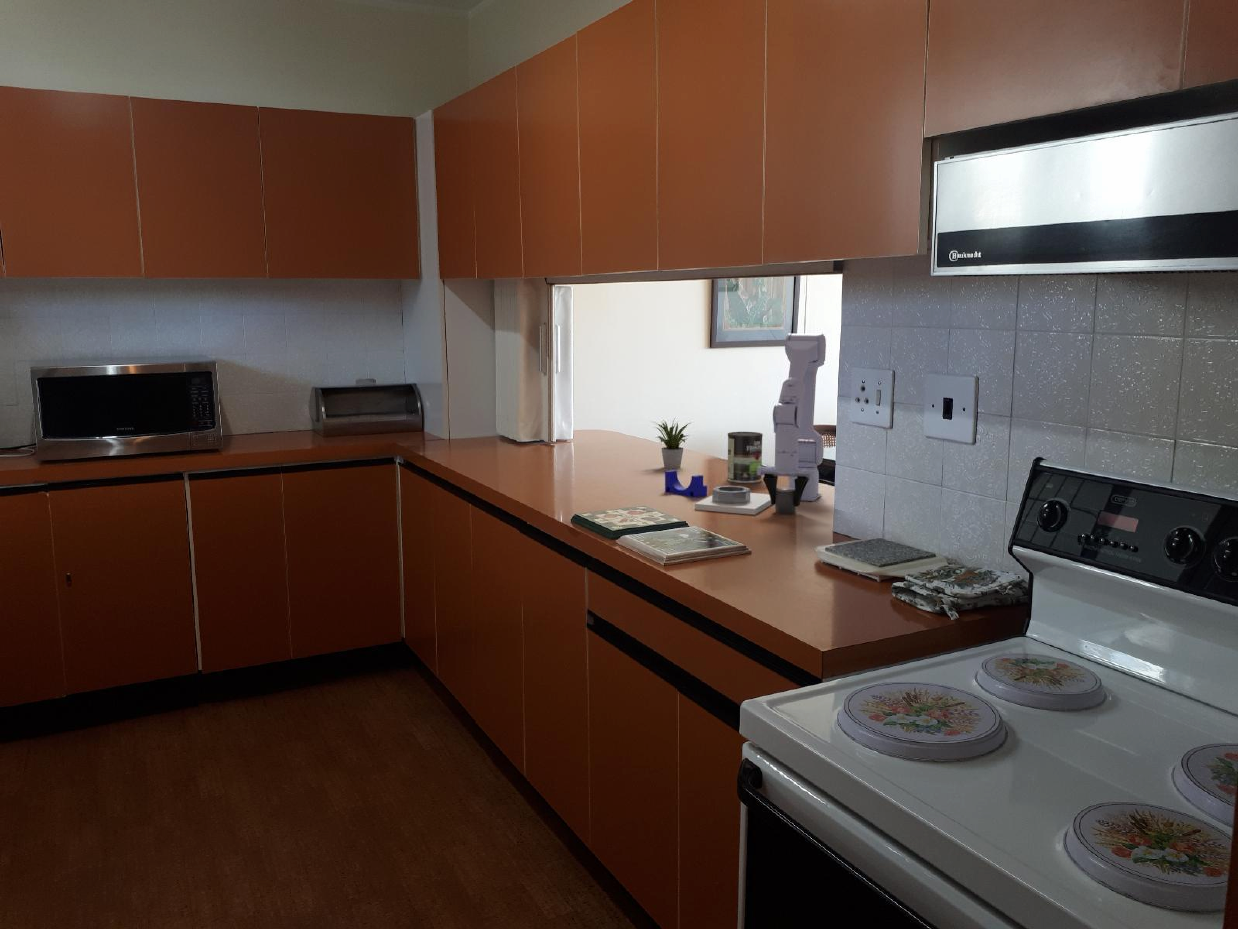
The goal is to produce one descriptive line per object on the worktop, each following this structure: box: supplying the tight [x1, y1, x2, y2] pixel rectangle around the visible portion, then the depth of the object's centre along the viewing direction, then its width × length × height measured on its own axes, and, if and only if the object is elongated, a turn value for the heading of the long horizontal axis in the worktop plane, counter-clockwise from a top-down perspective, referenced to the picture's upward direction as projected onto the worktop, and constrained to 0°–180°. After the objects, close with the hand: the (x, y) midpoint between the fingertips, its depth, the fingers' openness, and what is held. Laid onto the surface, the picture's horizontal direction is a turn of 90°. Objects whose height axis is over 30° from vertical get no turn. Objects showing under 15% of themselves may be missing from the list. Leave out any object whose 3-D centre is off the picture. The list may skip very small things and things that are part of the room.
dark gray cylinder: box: [774, 486, 796, 516], centre depth 249 cm, size 5×5×6 cm
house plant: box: [649, 417, 693, 469], centre depth 318 cm, size 14×14×16 cm
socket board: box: [694, 485, 772, 516], centre depth 259 cm, size 20×16×4 cm
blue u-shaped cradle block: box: [664, 469, 708, 499], centre depth 275 cm, size 12×4×6 cm, turn 41°
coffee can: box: [726, 431, 764, 484], centre depth 294 cm, size 10×10×14 cm
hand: (785, 504), depth 249 cm, fingers open, 5 cm apart
